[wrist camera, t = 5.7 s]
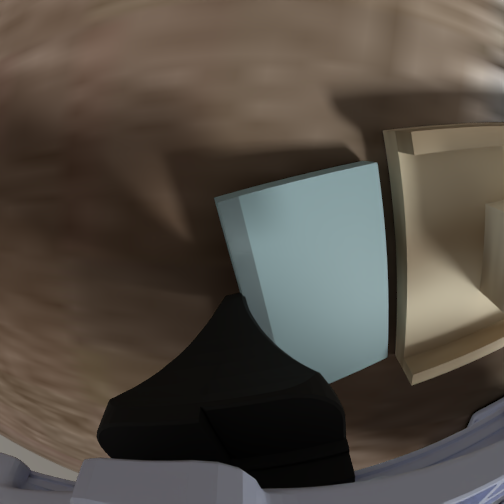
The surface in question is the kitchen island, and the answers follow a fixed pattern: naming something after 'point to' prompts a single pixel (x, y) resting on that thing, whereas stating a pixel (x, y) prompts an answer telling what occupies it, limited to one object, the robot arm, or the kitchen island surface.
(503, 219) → the beige rectangular block
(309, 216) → the panel
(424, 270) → the bed
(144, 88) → the kitchen island surface
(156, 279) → the kitchen island surface
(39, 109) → the kitchen island surface
